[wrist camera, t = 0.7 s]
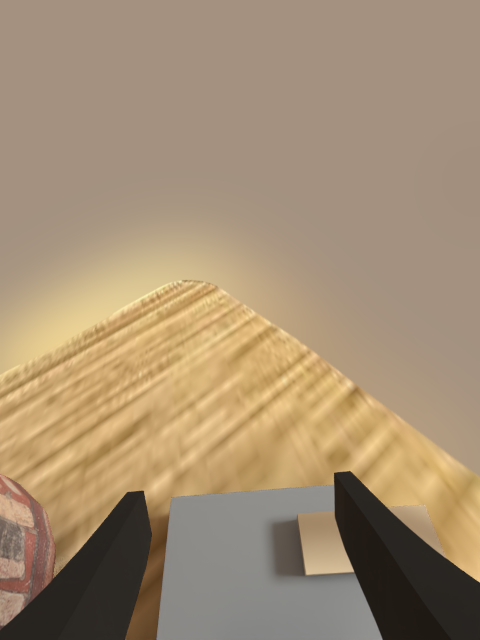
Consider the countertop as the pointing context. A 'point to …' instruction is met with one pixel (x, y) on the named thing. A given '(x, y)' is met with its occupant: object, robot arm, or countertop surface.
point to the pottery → (22, 549)
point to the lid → (253, 572)
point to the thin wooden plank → (327, 547)
